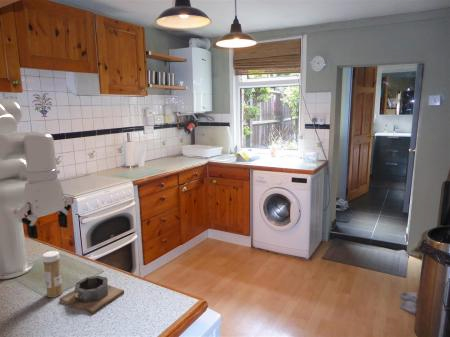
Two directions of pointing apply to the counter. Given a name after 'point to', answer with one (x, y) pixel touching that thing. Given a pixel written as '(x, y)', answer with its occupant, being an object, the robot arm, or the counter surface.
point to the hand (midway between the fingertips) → (49, 232)
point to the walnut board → (92, 306)
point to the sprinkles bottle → (52, 273)
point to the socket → (91, 289)
